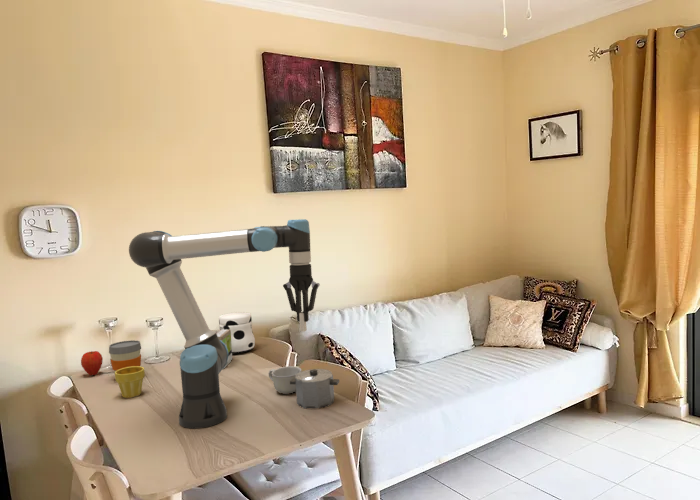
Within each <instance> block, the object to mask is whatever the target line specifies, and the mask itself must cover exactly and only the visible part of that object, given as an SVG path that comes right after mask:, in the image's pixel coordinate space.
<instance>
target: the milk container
mask: <svg viewBox="0 0 700 500" xmlns="http://www.w3.org/2000/svg"><path fill="white" fill-rule="evenodd" d="M252 321H253V319H252V313H251V312H245V311H243V312H242V311H238V312H237V311H236V312H235V311H234V312H229V313H224V314H221V315H219V316H218V324H219V325H218V328H219V330H227V329H230V330H231V345H232V355H233V354H235V355H236V354H242V353H246V352H249V351H250V352H251V351H252V350H253V349H254V348H255V345H256V338H255V335H254V332H253V322H252Z"/></svg>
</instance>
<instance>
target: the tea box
mask: <svg viewBox="0 0 700 500" xmlns="http://www.w3.org/2000/svg"><path fill="white" fill-rule="evenodd" d="M211 330H212V331H215V332H216V334H217V336H218V338H219V340H221V341H222V342H223V343H224V344H225V345H226V347H227V349H228V360H227V363H226V365H225V367H224V368H223V369H222V370H225V368H226V367H227V366H228V365H229V364H230V363H231V362H232V361H233V354H232V345H231V330H230V329H227V330H220V329H211ZM231 360H232V361H231Z"/></svg>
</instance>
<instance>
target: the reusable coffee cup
mask: <svg viewBox="0 0 700 500" xmlns="http://www.w3.org/2000/svg"><path fill="white" fill-rule="evenodd" d="M141 349H142V345H141V341H140V340H135V339H134V340H133V339H131V340H123V341H119V342H114V343H111V344H109V346H108V353H109V355H110V364H111V369H112V371H113V372H114V374H115V372H116V371H117V370H119V369H122V368H126V367H132V366H141V365H142V354H141ZM141 367H142V366H141Z"/></svg>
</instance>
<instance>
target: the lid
mask: <svg viewBox="0 0 700 500" xmlns="http://www.w3.org/2000/svg"><path fill="white" fill-rule="evenodd" d="M332 375H333V372H332V371H331V370H329V369H324V368H312V369H305V370H301V372H299V373H297V374H296V380H297V381H299V382H304V383H316V382H322V381H325V380H328V379H330V378H331V377H332Z"/></svg>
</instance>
